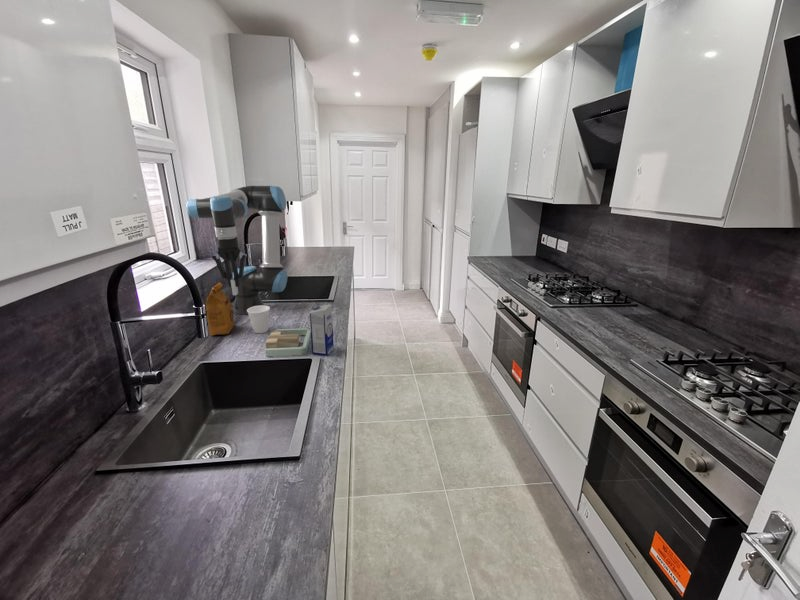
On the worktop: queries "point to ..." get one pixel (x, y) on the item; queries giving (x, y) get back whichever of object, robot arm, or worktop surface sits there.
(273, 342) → the t block
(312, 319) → the milk carton
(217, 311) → the coffee package
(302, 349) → the dock bay
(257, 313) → the cup
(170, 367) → the worktop surface
